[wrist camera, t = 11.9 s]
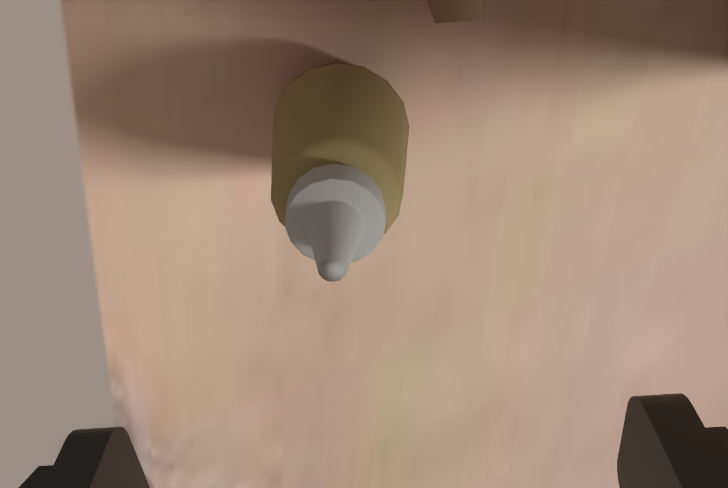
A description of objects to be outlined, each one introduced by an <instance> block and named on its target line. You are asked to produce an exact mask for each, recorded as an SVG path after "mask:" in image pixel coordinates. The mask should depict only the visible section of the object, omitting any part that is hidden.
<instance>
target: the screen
mask: <svg viewBox="0 0 728 488" xmlns="http://www.w3.org/2000/svg"><path fill="white" fill-rule="evenodd" d="M427 1H428V4H429V7H430V10H431V13H432V15H433V18H434V21H435V23H443V22H454V21H466V20H477V19H483V5H484V0H427Z"/></svg>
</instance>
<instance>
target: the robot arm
mask: <svg viewBox="0 0 728 488" xmlns="http://www.w3.org/2000/svg"><path fill="white" fill-rule="evenodd" d="M617 472H618V481H619V486H620V488H728V429H727V428H726V427H710V428H705V427H704V425H703V423H702V421H701V420H700V418H699V416H698V414H697V413H696V411H695V409H694V407H693V405H692V404H691V402H690V401H689V399H688V398H687V397H686V396H685V395H683V394H663V395H647V396H633V397H631V398H630V399H629V402H628V405H627V411H626V416H625V422H624V427H623V432H622V438H621V443H620V449H619V454H618V460H617ZM19 488H149V485H148V482H147V480H146V477H145V475H144V472H143V470H142V467H141V465H140V462H139V460H138V457H137V455H136V452H135V450H134V447H133V445H132V443H131V440H130V438H129V435H128V433H127V431H126V430H125V429H124V428H123V427H111V428H94V429H80V430H79V429H78V430H74V431H72V432H71V433H70V434H69V435H68V437H67V438H66V440H65V442H64V444H63V446H62V449H61V451H60V453H59V455H58V457H57V459H56V461H55V463H54V465H52V466H39V467H38V468H37V469H36V470H35V471H34V472H33V473H32V474H31V475H30V476H29V477H28V478H27V479H26V480H25V482H24V483H23V484H22V485H21V486H20V487H19Z"/></svg>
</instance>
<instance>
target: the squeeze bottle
mask: <svg viewBox="0 0 728 488" xmlns="http://www.w3.org/2000/svg"><path fill="white" fill-rule="evenodd" d="M408 134H409V124H408V120H407V115H406V111H405V107H404V103H403V101H402V100H401V98H400V97H399V96H398V94H397V93H396V92H395V90H394V89H393V88H392V86H391V85H390V84H389V82H388V81H387V80H385V79H383V78H381V77H380V76H378V75H376V74H375V73H373V72H371V71H369V70H368V69H366V68H364V67H361V66H355V65H348V64H340V63H334V64H330V65H327V66H323V67H319V68H315V69H311V70H308V71H307V72H305V73H304V74H303V75H302V76H300V77H299V78H298V79H296V80H295V81H294V82H292V83H291V84H290V85H288V86H287V88H286V90H285V91H284V93H283V95H282V97H281V99H280V101H279V102H278V104H277V106H276V108H275V113H274V127H273V151H272V185H271V201H272V203H273V206H274V208H275V211H276V214H277V216H278V219H279V221H280V222H281V223H282V224H283V225H284V226H285V228H286V230H287V233H288V236H289V238H290V241H291V242H292V243H293V244H294V245H295V247H296V248H297V249H298V250H299V251H300V252H301V253H302V254H303V255H305V256H307V257H310V258H312V259H314V260H315V261H316V265H317V268H318V272H319V274H320V276H321V277H322V278H323V279H325V280H327V281H333V282H334V281H338V280H340V279H342V278H343V277H344V276H345V274H346V272H347V270H348V267H349V265H350V263H351V262H354V261H358V260H359V259H361V258H363V257H364V256H366V255H367V254H369V253H371V252H372V251H373V250H374V249H375V247H376V246H377V245H378V243H379V242H380V240H381V239H382V238H383V235H384V234H385V233H386V232H387V230H388V229H389V228H390V226H391V225H392V223H393V222H394V221H395V219H396V218H397V216H398V215H399V210H400V205H401V200H402V195H403V187H404V177H405V166H406V155H407V145H408Z"/></svg>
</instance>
